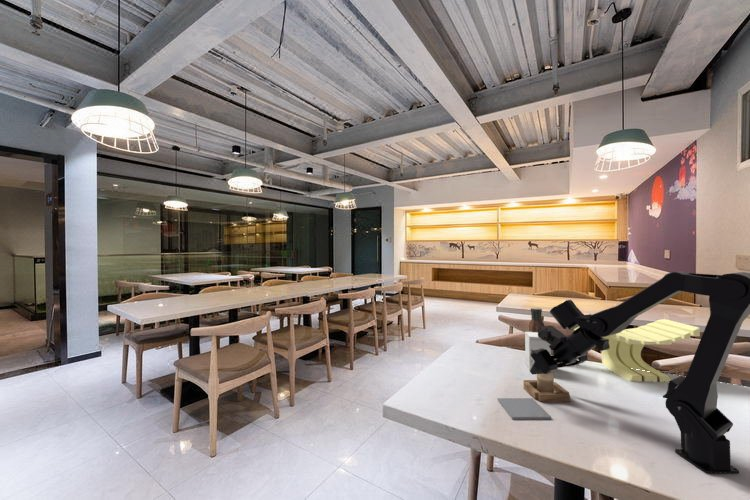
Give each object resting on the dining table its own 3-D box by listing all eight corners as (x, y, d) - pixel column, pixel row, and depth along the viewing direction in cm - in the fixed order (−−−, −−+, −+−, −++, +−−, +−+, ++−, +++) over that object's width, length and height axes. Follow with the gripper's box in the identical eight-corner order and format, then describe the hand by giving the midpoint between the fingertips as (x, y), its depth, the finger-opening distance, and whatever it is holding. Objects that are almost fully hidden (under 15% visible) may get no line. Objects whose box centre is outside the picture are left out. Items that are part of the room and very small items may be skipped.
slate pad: (551, 419, 78) (551, 416, 78) (512, 419, 78) (512, 416, 78) (532, 400, 88) (532, 398, 88) (497, 400, 88) (497, 398, 88)
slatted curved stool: (659, 364, 113) (658, 317, 113) (701, 382, 97) (699, 327, 97) (575, 363, 116) (573, 316, 116) (602, 380, 100) (601, 327, 100)
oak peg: (557, 397, 89) (556, 363, 89) (542, 397, 89) (541, 363, 89) (548, 390, 94) (548, 358, 94) (534, 390, 94) (533, 358, 94)
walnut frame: (572, 401, 86) (572, 394, 86) (537, 401, 86) (537, 394, 87) (552, 386, 96) (552, 380, 96) (521, 386, 96) (521, 380, 97)
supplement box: (529, 371, 109) (528, 336, 109) (525, 363, 116) (524, 331, 116) (552, 373, 107) (551, 337, 107) (546, 365, 114) (546, 332, 114)
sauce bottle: (549, 360, 119) (548, 310, 119) (532, 359, 120) (531, 309, 121) (543, 354, 126) (542, 307, 126) (527, 354, 127) (526, 306, 127)
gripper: (575, 315, 92) (542, 342, 102) (536, 322, 84) (504, 350, 94) (605, 348, 85) (566, 373, 95) (565, 359, 77) (527, 386, 86)
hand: (541, 369), depth 93 cm, fingers open, 9 cm apart
